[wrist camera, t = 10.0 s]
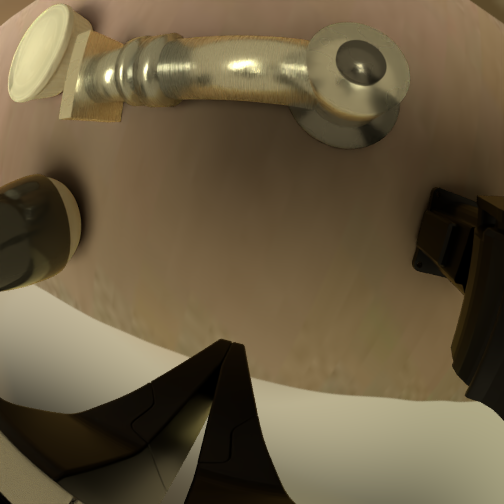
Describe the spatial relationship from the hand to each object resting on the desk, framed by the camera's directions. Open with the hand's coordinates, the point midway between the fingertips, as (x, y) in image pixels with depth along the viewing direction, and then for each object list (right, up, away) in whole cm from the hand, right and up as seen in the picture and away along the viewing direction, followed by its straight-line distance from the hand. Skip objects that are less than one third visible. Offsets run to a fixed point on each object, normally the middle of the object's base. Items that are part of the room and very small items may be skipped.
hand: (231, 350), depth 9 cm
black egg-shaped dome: (-19, +7, +15) cm, 25 cm away
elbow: (+2, +15, +7) cm, 17 cm away
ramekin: (-19, +25, +9) cm, 33 cm away
